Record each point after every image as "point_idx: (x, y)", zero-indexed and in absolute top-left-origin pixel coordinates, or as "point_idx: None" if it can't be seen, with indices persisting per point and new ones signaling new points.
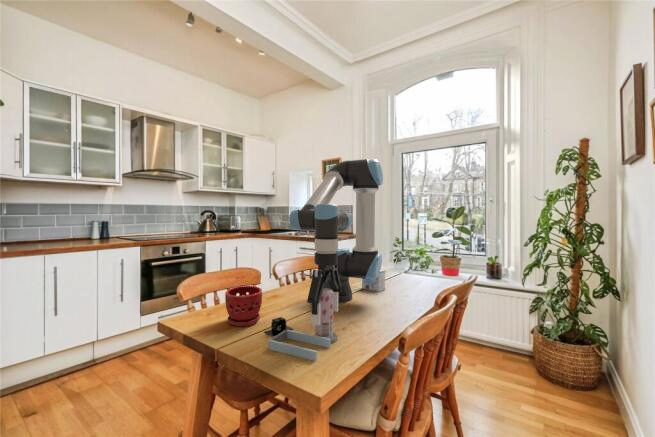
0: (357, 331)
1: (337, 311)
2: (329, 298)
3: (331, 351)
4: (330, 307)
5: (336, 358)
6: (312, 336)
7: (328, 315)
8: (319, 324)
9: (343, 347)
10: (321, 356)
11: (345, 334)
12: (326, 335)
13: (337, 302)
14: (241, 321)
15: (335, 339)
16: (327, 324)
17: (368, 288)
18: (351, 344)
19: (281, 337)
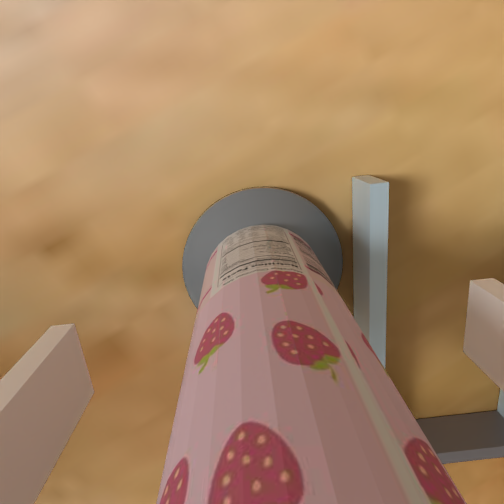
0: (24, 134)
1: (69, 324)
2: (400, 462)
3: (403, 138)
4: (327, 340)
5: (476, 60)
6: (385, 305)
7: (331, 302)
8: (490, 281)
9: (317, 97)
10: (485, 157)
11: (129, 186)
12: (308, 246)
13: (14, 390)
14: None
15: (266, 191)
16: (320, 270)
17: None
18: (247, 68)
19: (428, 437)
